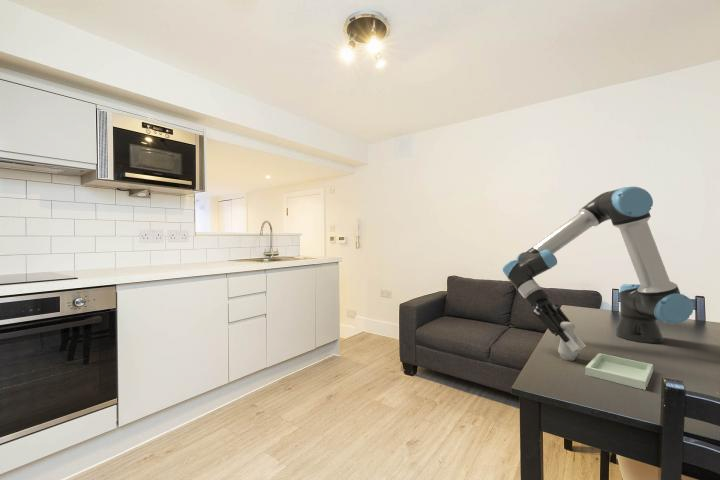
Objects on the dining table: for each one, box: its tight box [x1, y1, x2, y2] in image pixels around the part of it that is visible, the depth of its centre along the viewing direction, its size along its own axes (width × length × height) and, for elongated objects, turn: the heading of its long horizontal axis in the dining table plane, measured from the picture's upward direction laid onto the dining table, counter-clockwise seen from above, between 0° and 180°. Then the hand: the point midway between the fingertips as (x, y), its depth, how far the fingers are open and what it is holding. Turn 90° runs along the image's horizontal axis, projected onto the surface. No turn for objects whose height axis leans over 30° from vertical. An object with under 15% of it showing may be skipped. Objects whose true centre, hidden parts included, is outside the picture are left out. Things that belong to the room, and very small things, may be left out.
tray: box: [584, 352, 654, 391], centre depth 99 cm, size 18×14×2 cm
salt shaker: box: [557, 321, 578, 361], centre depth 111 cm, size 6×6×13 cm
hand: (579, 348), depth 108 cm, fingers closed on salt shaker, 3 cm apart
